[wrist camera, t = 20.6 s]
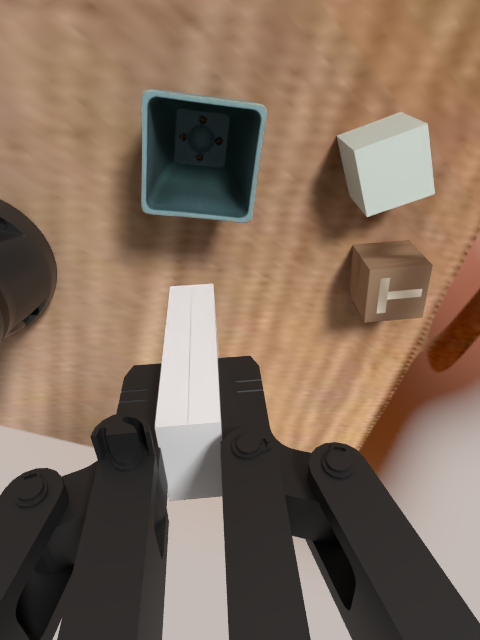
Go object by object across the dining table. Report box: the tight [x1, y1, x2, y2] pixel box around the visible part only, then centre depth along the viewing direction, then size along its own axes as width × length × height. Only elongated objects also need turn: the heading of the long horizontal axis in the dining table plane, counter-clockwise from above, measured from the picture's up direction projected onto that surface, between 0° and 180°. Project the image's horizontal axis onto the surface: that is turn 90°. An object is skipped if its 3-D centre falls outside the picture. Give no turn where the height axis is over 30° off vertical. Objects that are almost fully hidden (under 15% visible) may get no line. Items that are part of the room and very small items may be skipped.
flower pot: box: [141, 90, 267, 223], centre depth 37 cm, size 9×9×9 cm
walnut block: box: [349, 240, 432, 323], centre depth 47 cm, size 6×6×6 cm
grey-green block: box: [337, 112, 435, 217], centre depth 40 cm, size 6×6×6 cm
